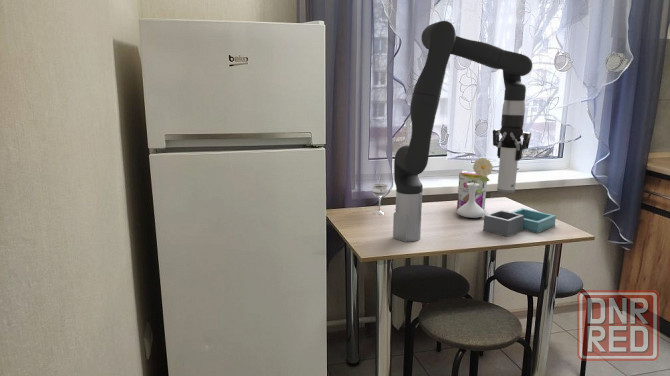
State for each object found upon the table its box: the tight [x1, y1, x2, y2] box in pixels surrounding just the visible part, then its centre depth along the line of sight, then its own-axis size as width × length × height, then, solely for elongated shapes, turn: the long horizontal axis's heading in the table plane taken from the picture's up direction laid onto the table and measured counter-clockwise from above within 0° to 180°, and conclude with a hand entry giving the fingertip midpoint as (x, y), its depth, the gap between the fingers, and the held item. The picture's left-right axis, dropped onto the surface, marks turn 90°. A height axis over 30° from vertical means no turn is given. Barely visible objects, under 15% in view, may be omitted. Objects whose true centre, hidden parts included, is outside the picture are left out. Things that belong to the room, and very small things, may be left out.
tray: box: [511, 208, 557, 234], centre depth 184 cm, size 14×14×4 cm
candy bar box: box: [456, 170, 488, 211], centre depth 204 cm, size 11×5×16 cm, turn 58°
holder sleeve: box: [482, 209, 524, 237], centre depth 177 cm, size 11×10×6 cm
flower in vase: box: [456, 157, 494, 219], centre depth 192 cm, size 13×11×25 cm
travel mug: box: [496, 137, 522, 194], centre depth 172 cm, size 6×7×20 cm
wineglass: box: [371, 183, 389, 215], centre depth 199 cm, size 7×7×12 cm
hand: (508, 159), depth 171 cm, fingers closed on travel mug, 6 cm apart
